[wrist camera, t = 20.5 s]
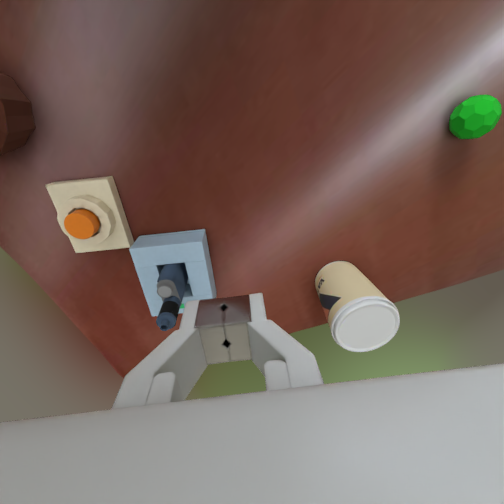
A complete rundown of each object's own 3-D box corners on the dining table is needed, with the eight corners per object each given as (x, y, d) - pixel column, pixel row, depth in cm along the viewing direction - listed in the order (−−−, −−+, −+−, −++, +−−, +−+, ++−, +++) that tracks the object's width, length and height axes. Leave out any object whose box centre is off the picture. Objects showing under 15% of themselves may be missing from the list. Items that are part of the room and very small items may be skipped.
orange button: (66, 210, 34) (58, 214, 33) (94, 207, 34) (87, 211, 33) (77, 235, 36) (70, 240, 34) (104, 232, 36) (98, 238, 34)
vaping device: (175, 282, 43) (157, 337, 32) (165, 254, 41) (141, 303, 30) (191, 279, 43) (177, 333, 32) (181, 251, 41) (163, 300, 30)
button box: (53, 181, 35) (36, 188, 32) (112, 175, 36) (101, 181, 32) (81, 247, 40) (69, 258, 37) (134, 242, 40) (126, 252, 37)
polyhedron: (446, 145, 37) (474, 149, 32) (435, 113, 35) (463, 113, 30) (482, 122, 35) (516, 123, 31) (473, 87, 33) (508, 83, 29)
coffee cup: (305, 265, 44) (328, 312, 33) (360, 249, 43) (402, 293, 33) (314, 306, 48) (337, 360, 38) (365, 293, 48) (402, 344, 37)
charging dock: (139, 235, 40) (128, 249, 36) (205, 228, 40) (201, 242, 36) (158, 298, 45) (151, 317, 41) (216, 292, 46) (215, 310, 41)
